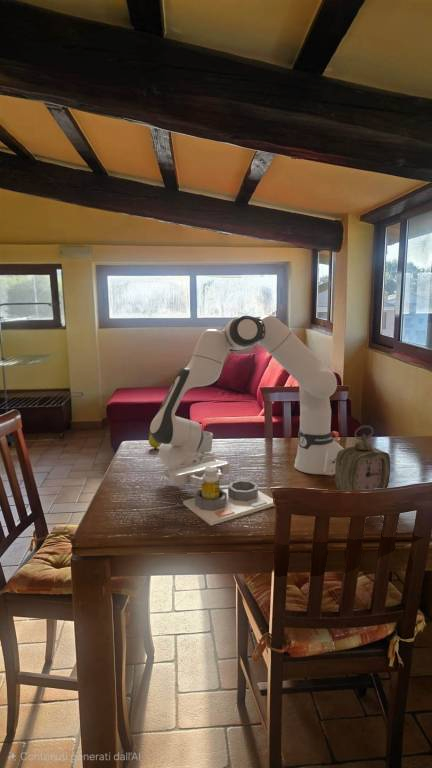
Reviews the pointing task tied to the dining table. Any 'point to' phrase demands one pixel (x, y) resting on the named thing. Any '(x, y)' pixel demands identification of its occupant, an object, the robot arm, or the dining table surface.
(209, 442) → the cup
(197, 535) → the dining table surface
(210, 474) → the supplement bottle
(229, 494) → the socket board
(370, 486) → the tabletop clock
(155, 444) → the lemon
